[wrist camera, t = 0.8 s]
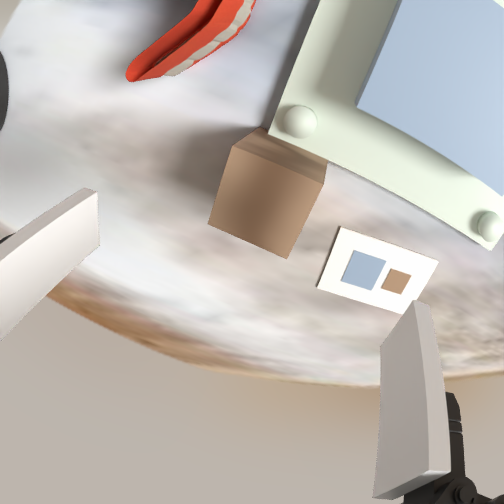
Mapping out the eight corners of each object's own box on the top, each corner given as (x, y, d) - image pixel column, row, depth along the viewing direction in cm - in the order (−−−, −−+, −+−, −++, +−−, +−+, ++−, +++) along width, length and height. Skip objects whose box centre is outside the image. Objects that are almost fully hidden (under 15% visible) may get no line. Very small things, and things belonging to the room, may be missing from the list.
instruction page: (317, 286, 31) (316, 288, 31) (340, 226, 27) (340, 228, 27) (406, 314, 30) (406, 316, 30) (438, 260, 26) (439, 262, 26)
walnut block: (237, 188, 28) (207, 224, 22) (259, 126, 25) (232, 145, 19) (300, 216, 28) (286, 259, 22) (328, 156, 24) (323, 184, 19)
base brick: (354, 102, 21) (356, 107, 17) (408, -28, 14) (419, -45, 10) (482, 178, 20) (502, 196, 17) (536, 59, 13) (562, 61, 10)
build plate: (270, 131, 25) (264, 136, 23) (361, -89, 12) (362, -100, 10) (486, 244, 24) (494, 257, 22) (577, 54, 11) (590, 56, 9)
